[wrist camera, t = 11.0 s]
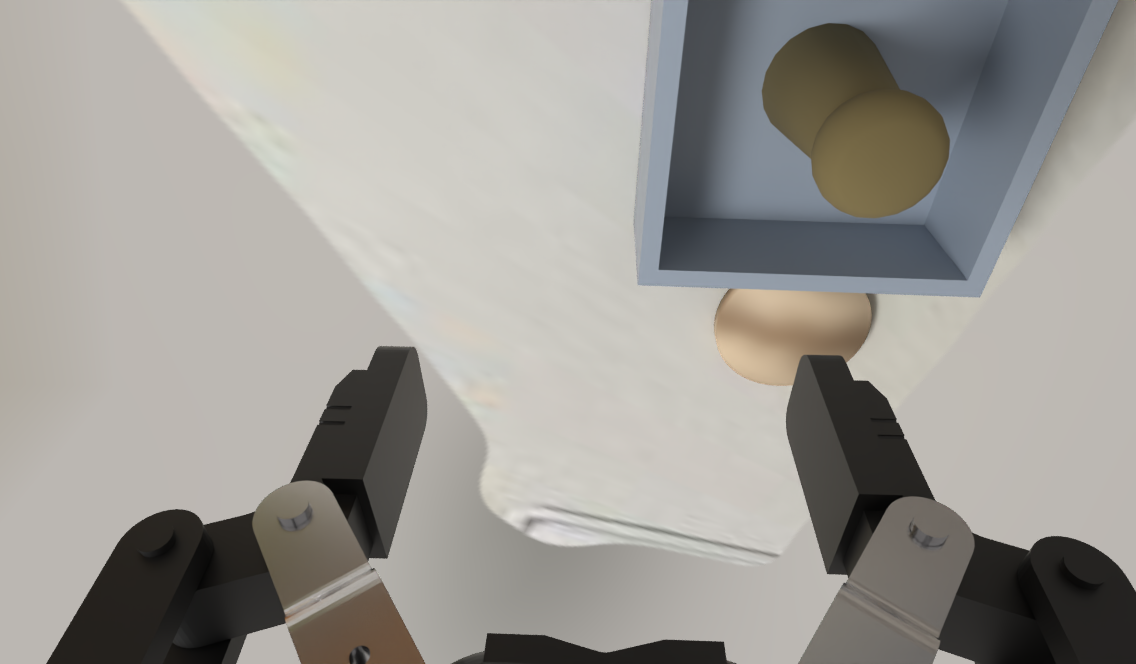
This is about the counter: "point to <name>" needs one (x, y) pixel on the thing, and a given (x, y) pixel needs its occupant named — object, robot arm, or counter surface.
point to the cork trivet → (787, 330)
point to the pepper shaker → (855, 122)
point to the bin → (784, 173)
